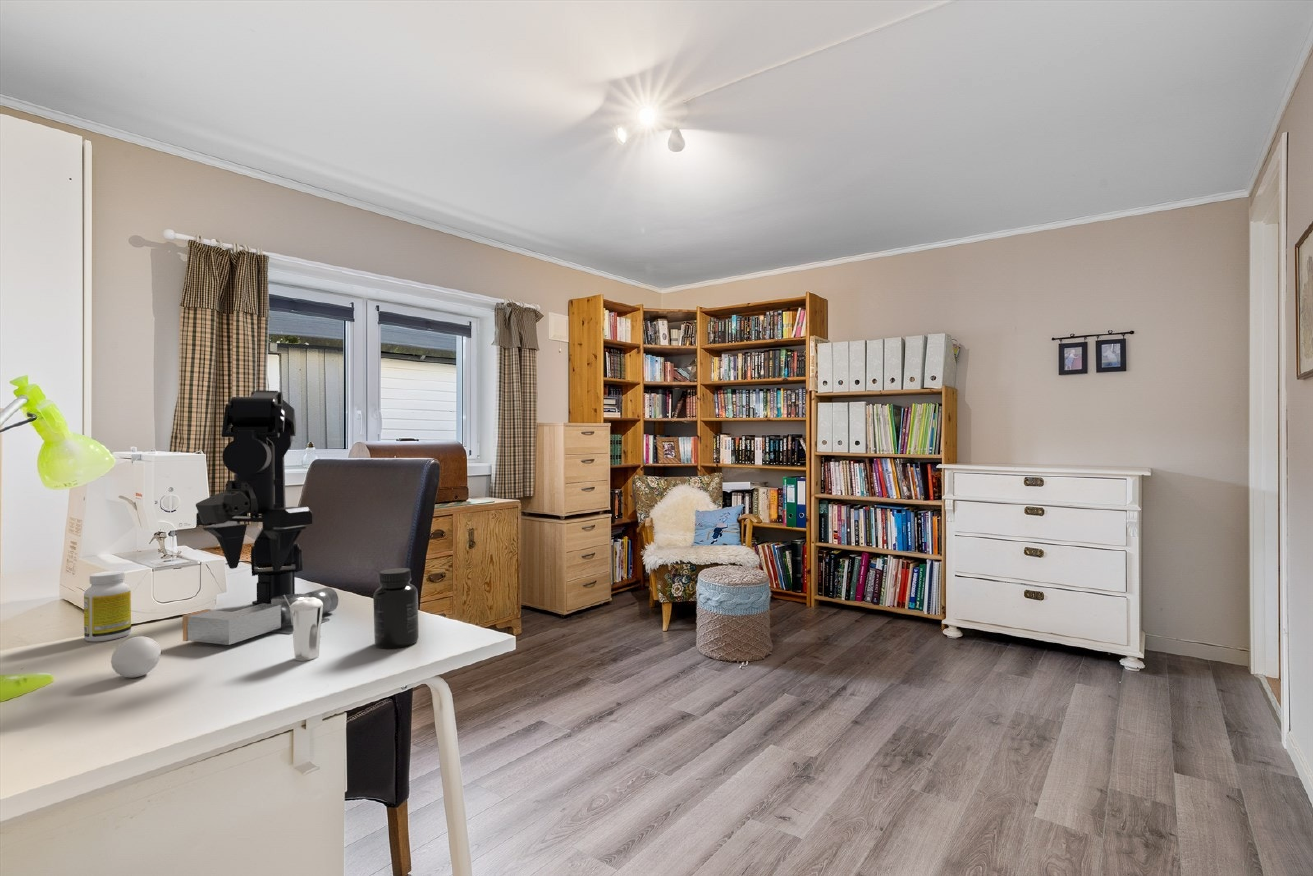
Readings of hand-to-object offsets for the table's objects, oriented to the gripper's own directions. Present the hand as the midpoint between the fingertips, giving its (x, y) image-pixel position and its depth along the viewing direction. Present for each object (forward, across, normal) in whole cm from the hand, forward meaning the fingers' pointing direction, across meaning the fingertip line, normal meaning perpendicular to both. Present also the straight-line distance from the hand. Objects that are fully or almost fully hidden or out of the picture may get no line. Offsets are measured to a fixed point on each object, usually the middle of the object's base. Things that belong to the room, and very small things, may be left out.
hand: (254, 569), depth 106 cm
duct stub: (+12, -5, +14) cm, 20 cm away
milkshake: (+13, +12, -2) cm, 18 cm away
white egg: (+13, -6, -14) cm, 20 cm away
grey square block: (+12, -8, +3) cm, 15 cm away
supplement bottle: (+13, +21, +8) cm, 26 cm away
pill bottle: (+13, -30, -3) cm, 33 cm away
